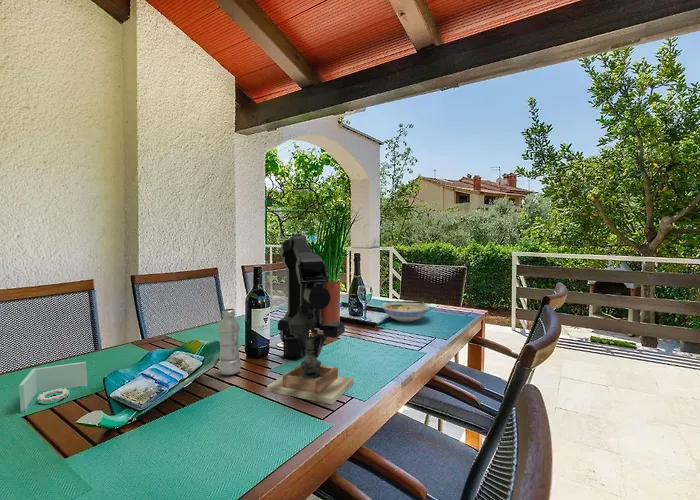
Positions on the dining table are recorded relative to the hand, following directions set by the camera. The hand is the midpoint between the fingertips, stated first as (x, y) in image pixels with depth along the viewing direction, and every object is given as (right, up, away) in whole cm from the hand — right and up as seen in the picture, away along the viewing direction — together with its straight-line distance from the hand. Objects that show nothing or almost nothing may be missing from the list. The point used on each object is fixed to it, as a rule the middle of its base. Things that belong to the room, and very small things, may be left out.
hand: (310, 356), depth 108 cm
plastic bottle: (-26, -9, +10) cm, 29 cm away
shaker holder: (0, -9, 0) cm, 9 cm away
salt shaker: (0, -6, 0) cm, 6 cm away
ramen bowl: (+38, -4, +77) cm, 86 cm away
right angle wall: (-67, -10, -6) cm, 68 cm away
